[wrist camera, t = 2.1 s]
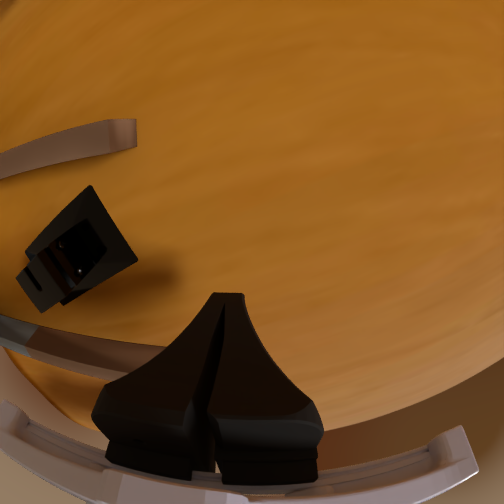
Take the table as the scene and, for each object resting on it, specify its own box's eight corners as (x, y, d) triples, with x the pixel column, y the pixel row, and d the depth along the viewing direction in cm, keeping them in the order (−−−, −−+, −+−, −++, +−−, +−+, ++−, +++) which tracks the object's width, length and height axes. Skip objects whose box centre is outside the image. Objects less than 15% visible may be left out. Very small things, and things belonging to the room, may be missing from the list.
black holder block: (106, 158, 13) (58, 174, 9) (169, 258, 16) (145, 303, 12) (17, 249, 16) (-17, 276, 12) (65, 316, 19) (40, 352, 14)
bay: (174, 360, 19) (159, 412, 15) (0, 323, 19) (-22, 349, 15) (135, 119, 12) (81, 120, 7) (-46, 179, 12) (-80, 196, 7)
